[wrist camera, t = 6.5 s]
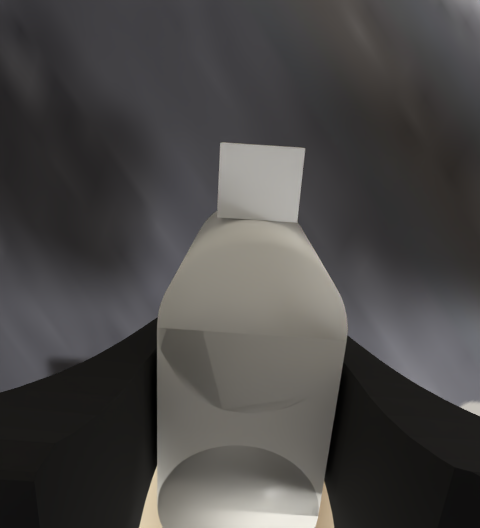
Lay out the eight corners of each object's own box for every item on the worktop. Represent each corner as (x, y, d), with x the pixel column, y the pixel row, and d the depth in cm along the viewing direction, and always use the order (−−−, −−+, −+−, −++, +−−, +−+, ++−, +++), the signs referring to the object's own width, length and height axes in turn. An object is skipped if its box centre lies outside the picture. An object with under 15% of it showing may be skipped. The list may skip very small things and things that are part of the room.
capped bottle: (322, 148, 11) (376, 154, 6) (288, 427, 14) (308, 573, 9) (196, 140, 11) (156, 139, 6) (188, 420, 14) (157, 563, 9)
